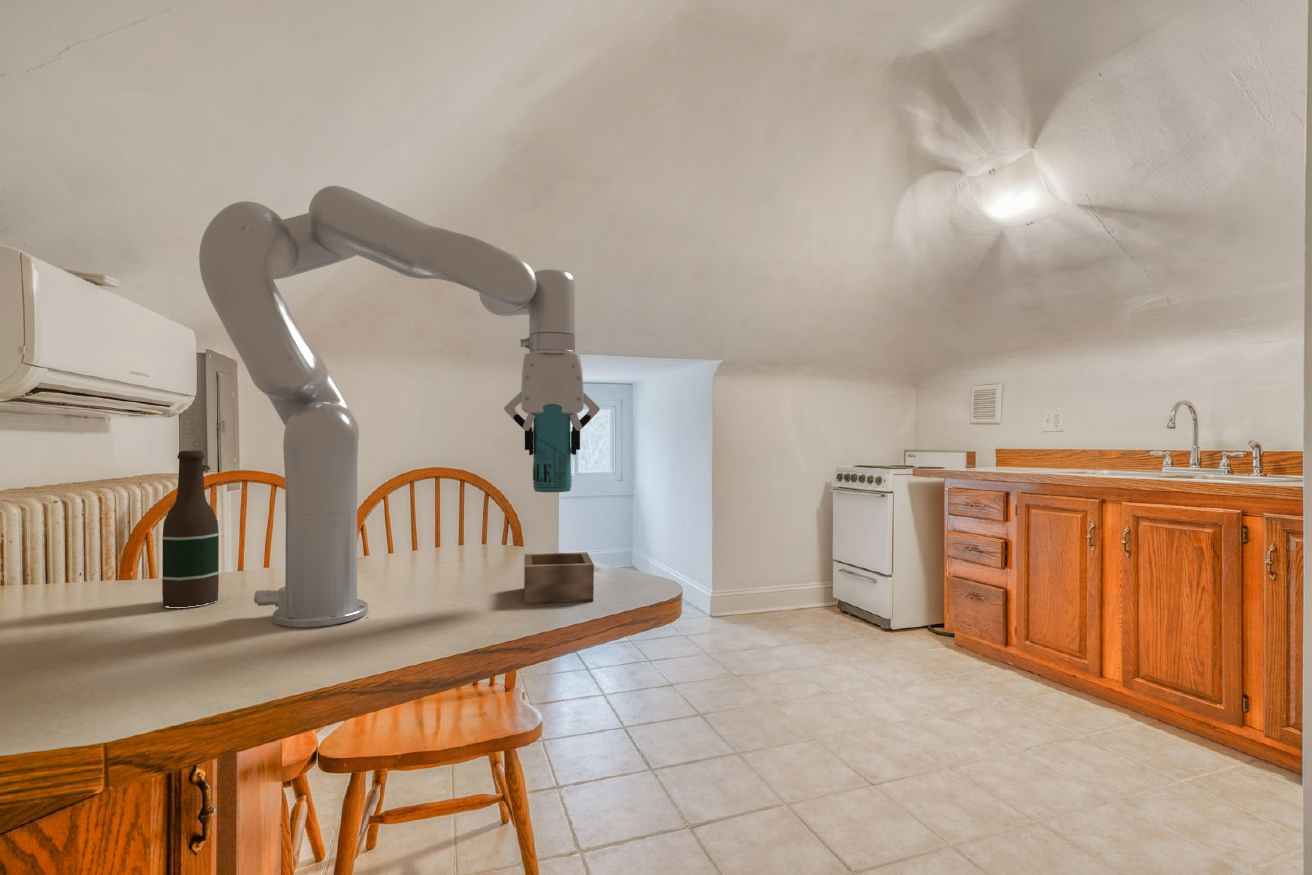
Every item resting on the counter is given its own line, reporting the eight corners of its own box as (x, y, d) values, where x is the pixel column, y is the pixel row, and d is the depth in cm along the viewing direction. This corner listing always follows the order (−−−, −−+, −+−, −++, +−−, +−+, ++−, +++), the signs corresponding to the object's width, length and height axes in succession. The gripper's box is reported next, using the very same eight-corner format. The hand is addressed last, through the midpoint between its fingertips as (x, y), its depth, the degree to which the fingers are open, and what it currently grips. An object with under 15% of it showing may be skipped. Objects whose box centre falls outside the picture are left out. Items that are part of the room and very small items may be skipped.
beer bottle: (229, 601, 108) (230, 450, 107) (174, 612, 101) (174, 452, 101) (205, 594, 112) (206, 449, 112) (151, 604, 105) (151, 450, 105)
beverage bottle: (575, 497, 116) (576, 380, 116) (566, 502, 109) (566, 378, 109) (538, 497, 117) (538, 380, 116) (527, 501, 110) (527, 378, 110)
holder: (524, 603, 109) (525, 566, 108) (524, 587, 119) (524, 553, 119) (593, 601, 111) (593, 564, 111) (586, 585, 122) (587, 552, 121)
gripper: (497, 342, 107) (498, 456, 108) (606, 345, 111) (606, 455, 111) (499, 348, 115) (500, 454, 115) (601, 350, 118) (601, 453, 118)
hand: (552, 453), depth 113 cm, fingers closed on beverage bottle, 6 cm apart
